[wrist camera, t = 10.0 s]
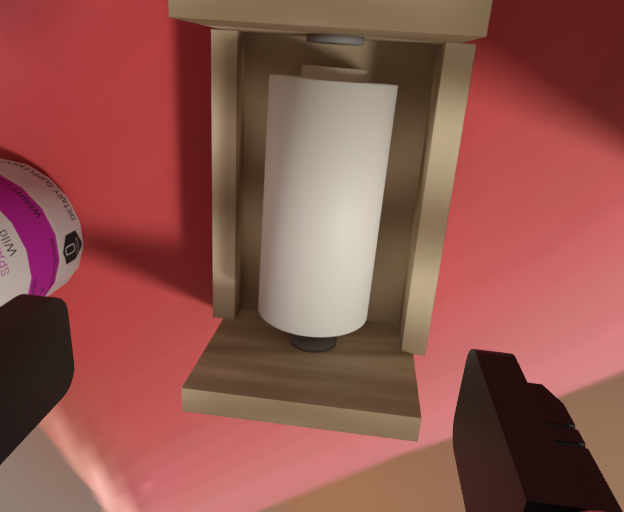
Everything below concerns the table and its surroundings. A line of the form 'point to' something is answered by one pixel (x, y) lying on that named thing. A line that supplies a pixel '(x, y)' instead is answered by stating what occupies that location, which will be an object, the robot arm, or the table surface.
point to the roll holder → (394, 214)
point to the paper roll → (322, 198)
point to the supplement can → (35, 233)
